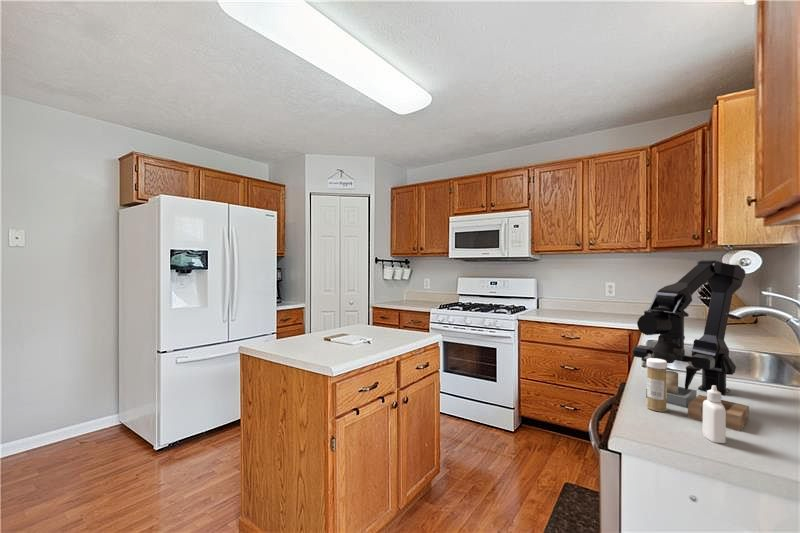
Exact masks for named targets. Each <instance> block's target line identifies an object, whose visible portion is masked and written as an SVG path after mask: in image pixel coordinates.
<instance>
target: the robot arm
mask: <svg viewBox="0 0 800 533" xmlns="http://www.w3.org/2000/svg"><path fill="white" fill-rule="evenodd" d="M745 277H746V270H745V269H744V268H743V267H742V266H741V265H740V264H731V263H725V262H722V261H717V260H715V259H713V260H708V259H707V260H706V259H705V260H699V261H697V262H696V265H695V266H694V267H693V268H692V269H690V270H689V271H688V272H687V273H685V274H684V276H682V277H681V278H680V279H679V280H678V281H677V282H675V283H672V284H668V285H665V286H663V287H661V288H660V289H658V290H657V292H656V293H655V296H654V297H653V299H652V301H651V303H650V305H649V307H648V308H647V310H644V311H643V314H642V315H641V316H639V318H638V319H637V322H636V324H637V328H638V331H640V333H642V334H643V335H645V336H654V335H655V336H656V335H658V338H657V342H656V344H655V345H654V346H649V345H643V344H639V345H637V346H635V347H633V348H632V356H633V357H636V358H640V360H641V361H643V362H645V363H646V364H647V359H648V358H657V359H663V360H665V361H667V364H674V362H675V361H677V362H678V361H679V362H684V363H688V365H687V366H686V367H685V370H686V371H685V372H686V373H685V381H684V388H685V389H686V390H687V389H689V387H690V385H691V383H692V380H693V379H694V377H695V375H696V373H697V372H698V371H701V385H699V386H698V387H697V390H701V391H704V392H707V391H708V390H711V388H712V385H715V386H716V388H717V391H719V392H720V393H721V395H724V396H725V395H727V394H728V393H729V392H730V391H731V389H730V388H727V375H730V376H732V375H734V374H735V372H736V368H737V366H736V365H735V363H734V362H733V360H732V359H731V358H730V349H729V347H728V346H727V343H726V342H725V338H726V336H725V335H726V331H727V326H728V320H729V315H730V310H731V304H732V299H733V295H734V294H735V292H737V291H738V290H739V289H740V288H741V287H742V285H743V283H744V282H743V281H744V279H745ZM706 282H707V284H708V286H709V287H710V289H711V295H710V299H709V305H708V310H707V316H706V321H705V325H704V330H703V334H702V336H701V337H700V338H699V339H697V338H695V339H694V340H693V346H692V348H691V355H687V354H685V352H686V351H685V339H686V338H685V318H687V317H689V316H690V315H689V313H688V312H687V311H685V310H686V309H687V308H688V307H689V305H690V304H691V303H692V302H693V294H694V293H695V292H697V291H698V290H699V289H700V288H701V287H702V286H703V285H704V284H705V283H706ZM726 313H727V315H726Z"/></svg>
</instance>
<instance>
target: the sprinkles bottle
mask: <svg viewBox="0 0 800 533" xmlns="http://www.w3.org/2000/svg"><path fill="white" fill-rule="evenodd" d="M646 368H647V370H646V372H647V374H646V389H647V398H646V401H647V404H646V407H647V409H649V410H651V411H654V412H660V413H661V412H662V413H663V412H666V411H667V410H668V408H667V403H666V398H667V387H666V371H667V369H668V363H667V361H665V360H663V359H657V358H648V359H647V363H646Z"/></svg>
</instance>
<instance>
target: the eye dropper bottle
mask: <svg viewBox="0 0 800 533" xmlns="http://www.w3.org/2000/svg"><path fill="white" fill-rule="evenodd" d="M706 396H707V400H704V401H703V421H702V435H703V436H704V438H706V439H707V440H709V441H711V442H713V443H716V444H726V432H727V431H726V430H727V428H726V411H725V407H724V406H723V404H722V403H721V400H722V394H721V393H720V392H719V391H717V388H716V386H715V385H712V388H711V390H708V391H706Z"/></svg>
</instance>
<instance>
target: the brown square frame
mask: <svg viewBox="0 0 800 533" xmlns="http://www.w3.org/2000/svg"><path fill="white" fill-rule="evenodd" d="M704 400H707V395H701V394H698V395H696V398H695V399H694V400H692V401H691V402H690V403H689V404H688V407H687V418H689V419H693V420H695V421H696V420H697V421H700V422H703V401H704ZM721 403H722V404H723V406H724V407H725V411H726V429H729V430H733V431H737V432H740V431H742V430H743V428H744V426H745V425H746V424H747V423H748V421H749V418H750V414H749V413H750V406H749V405H745V404H743V403H736V402H733V401H728V400H725V399H721Z"/></svg>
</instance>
